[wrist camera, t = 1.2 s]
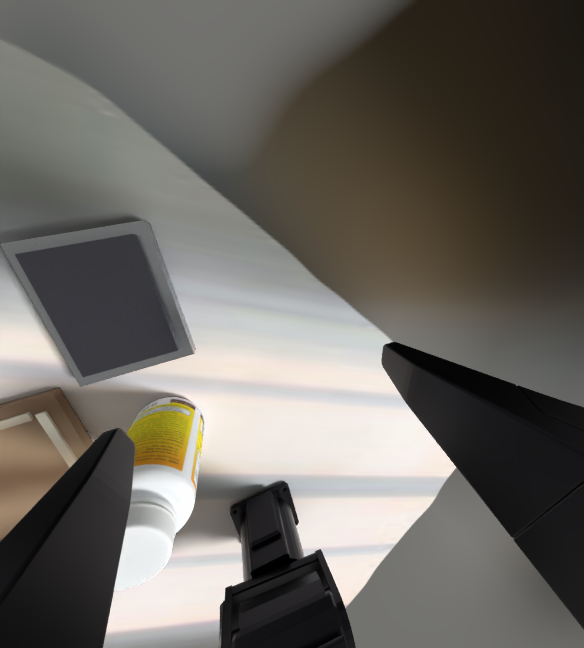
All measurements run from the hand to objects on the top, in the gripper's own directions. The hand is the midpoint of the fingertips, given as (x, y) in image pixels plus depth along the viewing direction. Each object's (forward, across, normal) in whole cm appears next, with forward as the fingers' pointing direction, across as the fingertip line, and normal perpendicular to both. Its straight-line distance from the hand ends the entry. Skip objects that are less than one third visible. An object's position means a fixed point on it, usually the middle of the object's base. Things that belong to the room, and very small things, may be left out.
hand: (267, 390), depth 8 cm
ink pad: (+13, +9, 0) cm, 16 cm away
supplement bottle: (+10, +9, +11) cm, 17 cm away
